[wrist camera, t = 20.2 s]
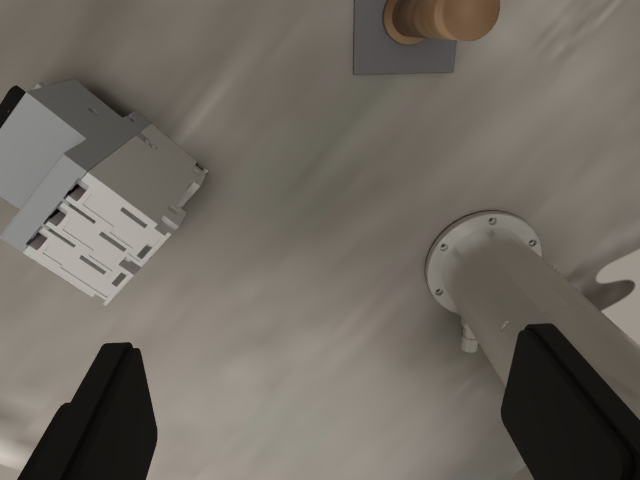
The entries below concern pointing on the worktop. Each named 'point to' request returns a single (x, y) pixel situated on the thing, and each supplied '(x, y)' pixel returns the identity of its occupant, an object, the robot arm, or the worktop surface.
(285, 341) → the worktop surface
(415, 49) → the rubber mat
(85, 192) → the circuit breaker
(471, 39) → the wooden pepper mill
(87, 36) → the worktop surface
